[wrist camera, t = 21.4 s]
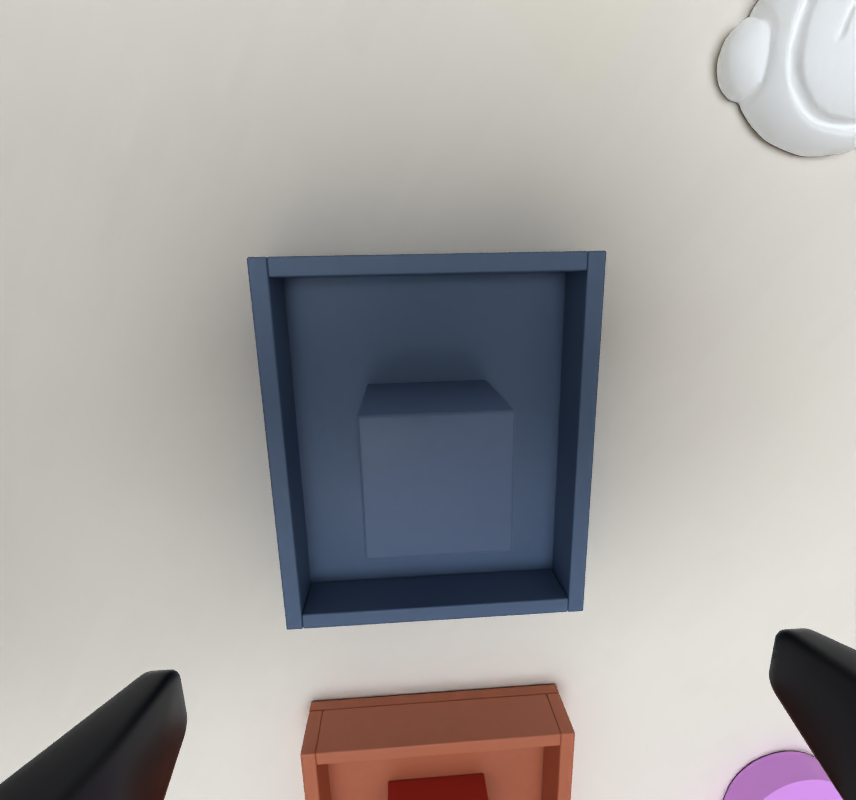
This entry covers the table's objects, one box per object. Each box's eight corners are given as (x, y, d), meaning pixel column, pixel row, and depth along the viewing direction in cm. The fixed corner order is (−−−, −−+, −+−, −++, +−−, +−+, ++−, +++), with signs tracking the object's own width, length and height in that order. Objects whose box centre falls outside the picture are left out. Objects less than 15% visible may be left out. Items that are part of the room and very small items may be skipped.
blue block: (372, 495, 18) (365, 560, 14) (366, 383, 17) (356, 416, 13) (485, 490, 19) (513, 552, 14) (486, 379, 18) (516, 409, 13)
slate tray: (299, 588, 20) (286, 630, 17) (268, 261, 17) (246, 257, 14) (561, 572, 20) (583, 611, 18) (577, 255, 17) (607, 250, 15)
